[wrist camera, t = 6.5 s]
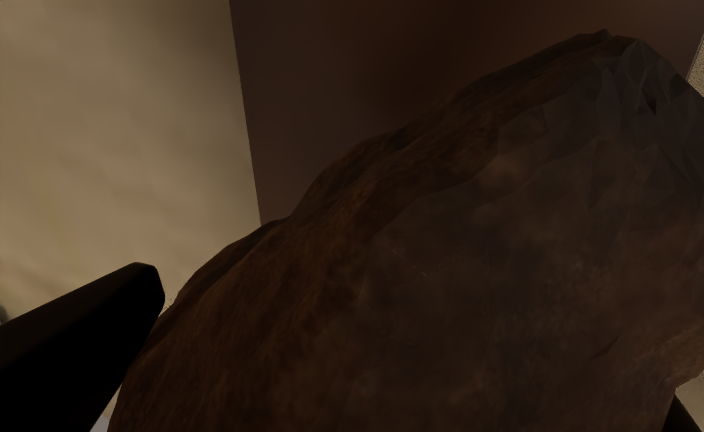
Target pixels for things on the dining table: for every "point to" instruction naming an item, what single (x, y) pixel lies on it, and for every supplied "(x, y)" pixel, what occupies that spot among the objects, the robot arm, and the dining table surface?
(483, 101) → the decorative rock
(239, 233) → the dining table surface
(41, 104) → the dining table surface
